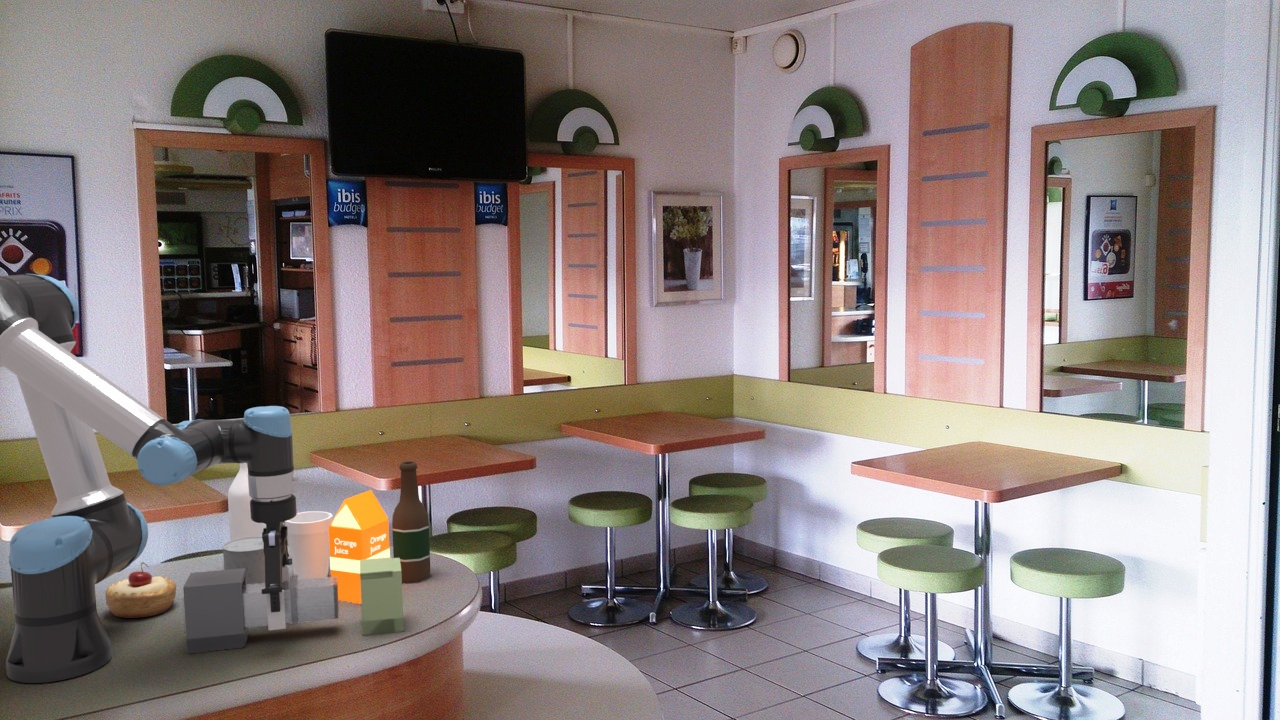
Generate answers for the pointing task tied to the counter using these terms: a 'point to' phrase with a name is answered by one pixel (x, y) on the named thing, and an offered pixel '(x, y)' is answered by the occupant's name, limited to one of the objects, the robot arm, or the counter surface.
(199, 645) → the sleeve
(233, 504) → the bottle
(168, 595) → the pastry
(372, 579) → the socket
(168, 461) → the robot arm
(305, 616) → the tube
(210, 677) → the counter surface
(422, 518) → the beer bottle
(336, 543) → the orange juice
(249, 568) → the gray cylinder
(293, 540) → the foam cup
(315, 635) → the counter surface
